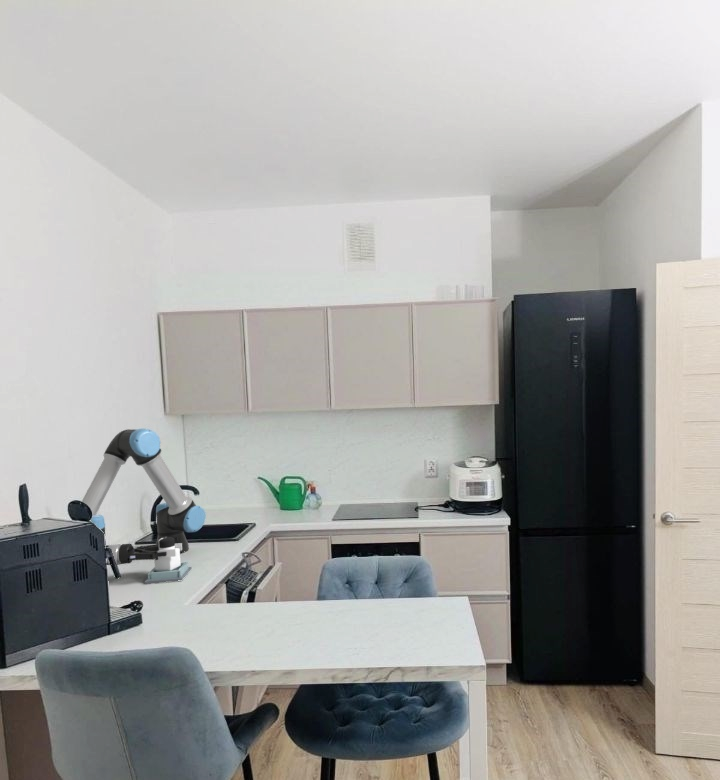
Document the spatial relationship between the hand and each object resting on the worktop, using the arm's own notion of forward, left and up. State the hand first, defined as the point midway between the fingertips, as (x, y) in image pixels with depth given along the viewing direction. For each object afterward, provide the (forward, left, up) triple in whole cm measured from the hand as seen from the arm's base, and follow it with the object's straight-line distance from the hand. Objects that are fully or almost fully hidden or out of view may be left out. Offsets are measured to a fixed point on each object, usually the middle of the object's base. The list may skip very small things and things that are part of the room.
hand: (178, 549), depth 235 cm
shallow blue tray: (0, -4, -10) cm, 11 cm away
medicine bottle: (0, -5, -7) cm, 9 cm away
